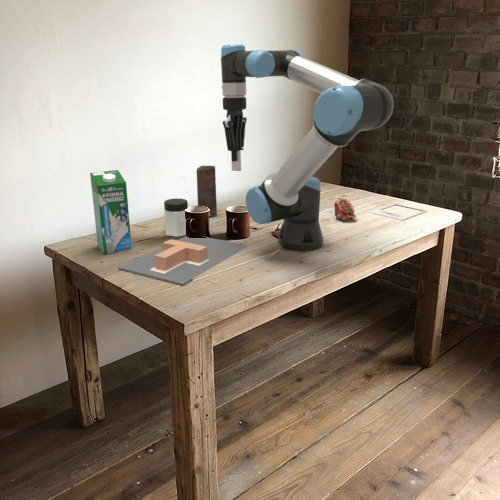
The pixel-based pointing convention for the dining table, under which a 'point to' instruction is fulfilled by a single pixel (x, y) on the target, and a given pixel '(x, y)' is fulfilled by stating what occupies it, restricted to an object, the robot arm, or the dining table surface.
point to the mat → (186, 269)
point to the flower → (344, 209)
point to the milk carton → (111, 211)
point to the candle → (207, 188)
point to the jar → (175, 217)
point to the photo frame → (393, 215)
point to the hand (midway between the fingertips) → (236, 170)
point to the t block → (179, 254)
